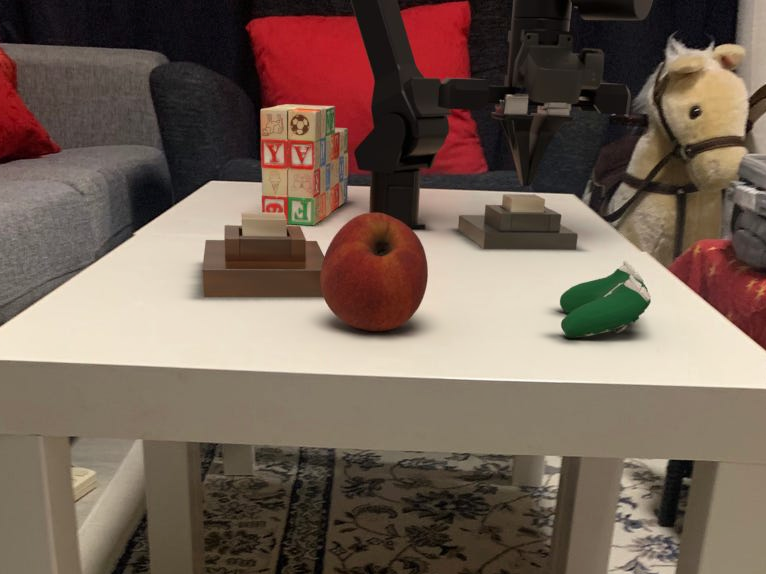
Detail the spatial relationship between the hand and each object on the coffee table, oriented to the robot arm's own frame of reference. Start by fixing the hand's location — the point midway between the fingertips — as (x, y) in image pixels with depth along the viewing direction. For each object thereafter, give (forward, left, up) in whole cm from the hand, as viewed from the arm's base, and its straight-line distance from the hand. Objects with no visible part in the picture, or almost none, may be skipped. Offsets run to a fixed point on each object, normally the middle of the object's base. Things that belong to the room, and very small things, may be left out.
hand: (525, 185), depth 98 cm
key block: (+19, -28, -6) cm, 34 cm away
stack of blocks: (-21, -21, -6) cm, 31 cm away
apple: (+35, -21, -6) cm, 41 cm away
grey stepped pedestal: (-2, 0, -6) cm, 6 cm away
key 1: (+19, -28, -2) cm, 34 cm away
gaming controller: (+35, -4, -6) cm, 36 cm away
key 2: (0, 0, -3) cm, 3 cm away
